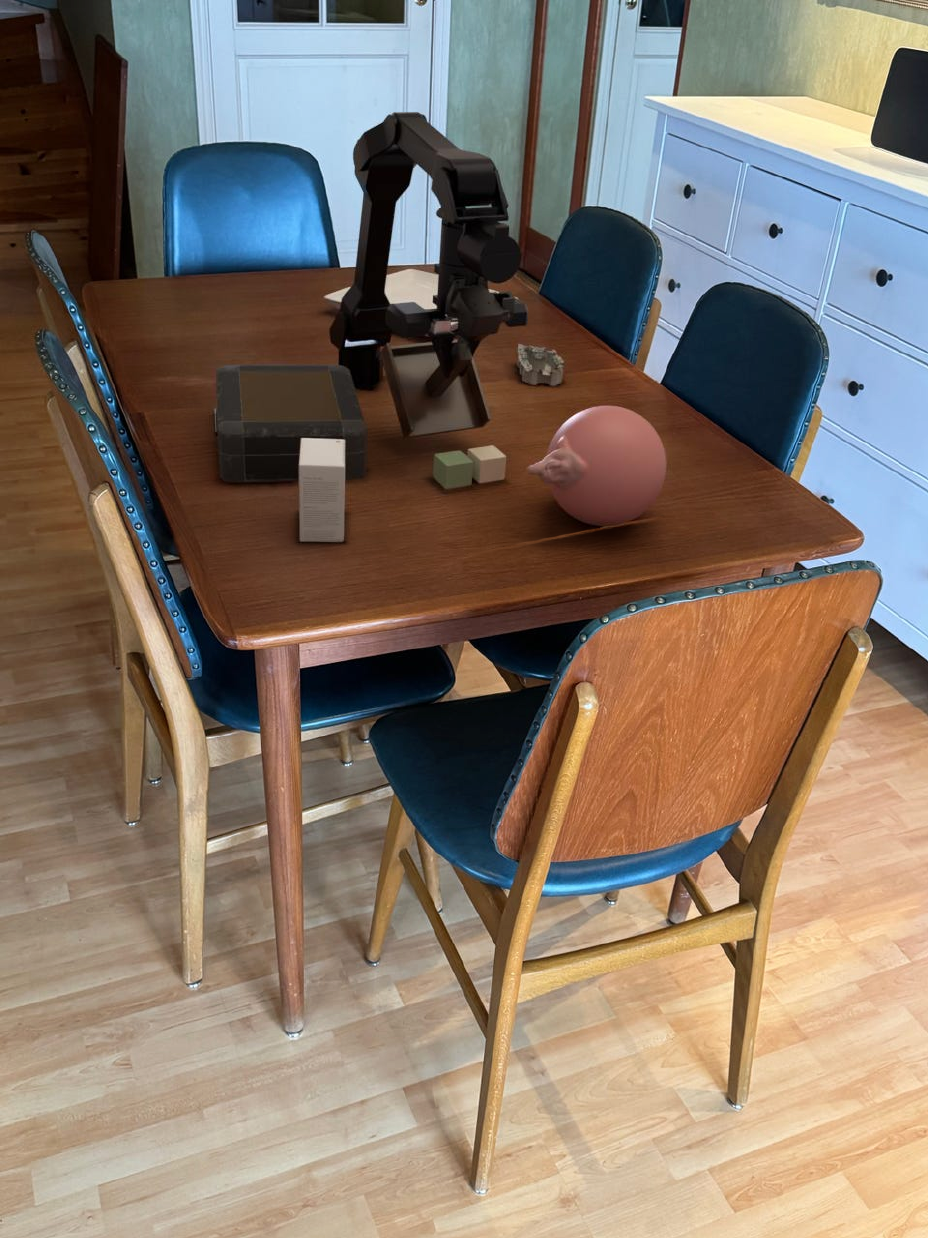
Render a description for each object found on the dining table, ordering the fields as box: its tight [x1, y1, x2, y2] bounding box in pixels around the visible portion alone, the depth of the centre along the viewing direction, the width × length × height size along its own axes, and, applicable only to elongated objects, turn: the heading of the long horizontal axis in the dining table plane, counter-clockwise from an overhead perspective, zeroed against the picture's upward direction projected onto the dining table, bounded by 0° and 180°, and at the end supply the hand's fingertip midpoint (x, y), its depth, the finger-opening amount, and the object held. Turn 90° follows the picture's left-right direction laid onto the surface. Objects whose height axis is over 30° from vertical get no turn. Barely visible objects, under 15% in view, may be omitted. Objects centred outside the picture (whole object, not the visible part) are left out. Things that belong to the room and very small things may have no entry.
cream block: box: [466, 444, 507, 484], centre depth 154 cm, size 4×4×4 cm
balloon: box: [526, 405, 667, 527], centre depth 142 cm, size 15×20×15 cm
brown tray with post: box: [380, 338, 492, 439], centre depth 153 cm, size 13×13×12 cm
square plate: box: [323, 268, 519, 338], centre depth 213 cm, size 27×27×4 cm
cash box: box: [212, 364, 368, 484], centre depth 157 cm, size 25×20×8 cm
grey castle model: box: [516, 343, 565, 387], centre depth 189 cm, size 11×8×4 cm
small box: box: [298, 438, 346, 543], centre depth 137 cm, size 8×6×10 cm
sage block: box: [432, 450, 473, 490], centre depth 151 cm, size 4×4×4 cm
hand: (453, 376), depth 151 cm, fingers closed on brown tray with post, 2 cm apart
